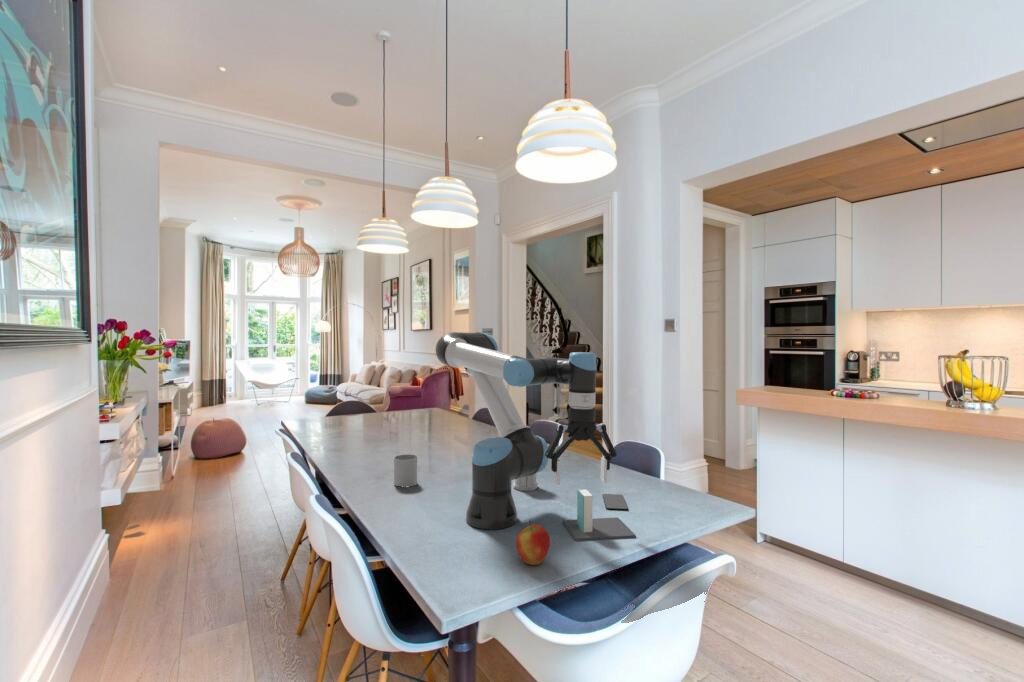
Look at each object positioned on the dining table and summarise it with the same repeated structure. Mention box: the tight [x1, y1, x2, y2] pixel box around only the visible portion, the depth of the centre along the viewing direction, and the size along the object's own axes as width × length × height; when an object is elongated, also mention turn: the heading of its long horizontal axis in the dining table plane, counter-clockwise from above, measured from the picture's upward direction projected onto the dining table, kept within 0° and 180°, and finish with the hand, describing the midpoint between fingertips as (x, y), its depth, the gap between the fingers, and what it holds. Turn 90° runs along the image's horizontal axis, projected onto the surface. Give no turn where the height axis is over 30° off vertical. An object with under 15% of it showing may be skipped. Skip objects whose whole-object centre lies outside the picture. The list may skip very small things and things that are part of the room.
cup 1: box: [393, 453, 418, 488], centre depth 174 cm, size 8×8×10 cm
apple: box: [515, 519, 551, 566], centre depth 113 cm, size 8×8×10 cm
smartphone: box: [602, 493, 629, 512], centre depth 155 cm, size 7×1×15 cm
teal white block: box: [576, 489, 594, 532], centre depth 132 cm, size 3×6×10 cm, turn 9°
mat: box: [562, 516, 637, 542], centre depth 133 cm, size 17×13×1 cm
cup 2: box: [513, 473, 538, 492], centre depth 171 cm, size 10×9×12 cm
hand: (580, 482), depth 132 cm, fingers open, 13 cm apart
